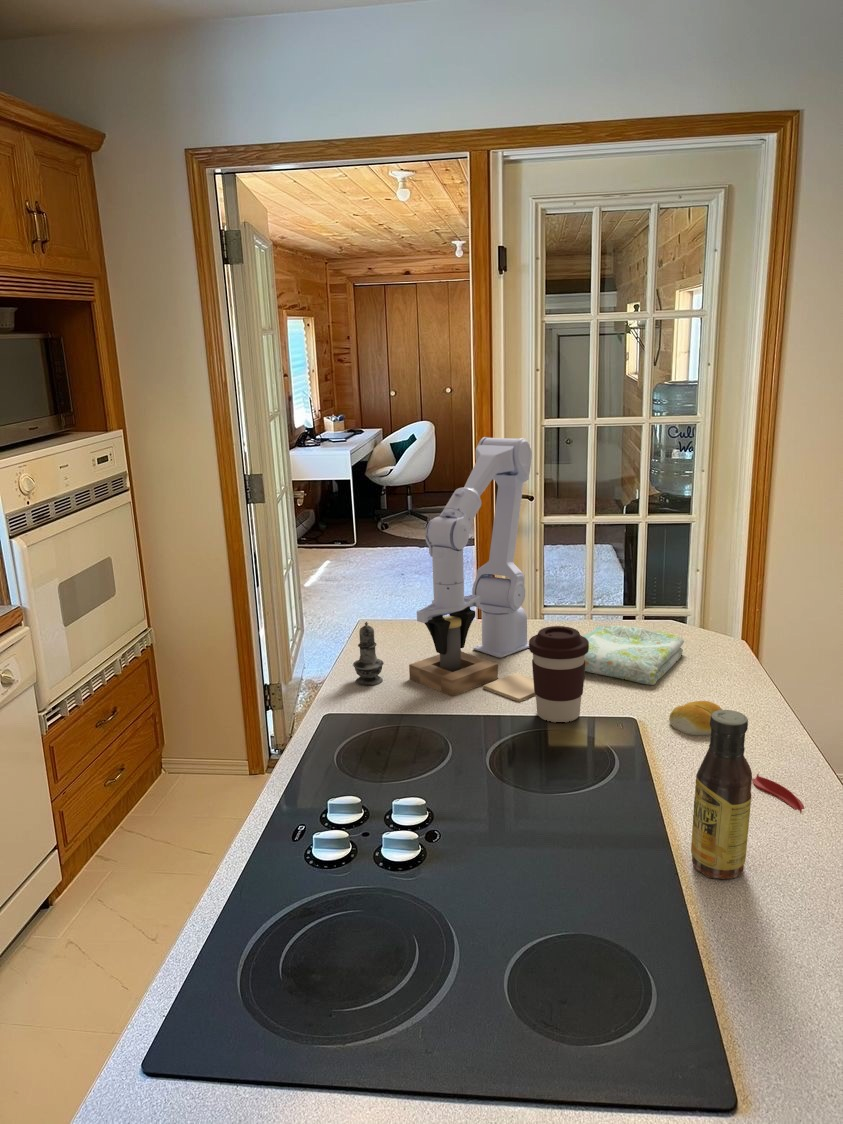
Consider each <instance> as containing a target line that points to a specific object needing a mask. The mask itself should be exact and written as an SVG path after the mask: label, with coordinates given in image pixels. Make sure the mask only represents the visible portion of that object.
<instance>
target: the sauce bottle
mask: <svg viewBox="0 0 843 1124" xmlns="http://www.w3.org/2000/svg"><path fill="white" fill-rule="evenodd" d="M748 726H749V719H748V717H747V716H746V715H745V714H743V713H742V712H740V711H737V710H731V709H723V710H718V711H715V712H713V713H712V715H711V718H710V727H711V734H709V737H710V739H709V744H708V748H707V749H708V750H707V751H706V754H705V756H704V758H703V759H702V762H701V764H700V766H699V769H698V770H697V773H696V777H695V785H694V786H695V788H694V789H695V790H694V800H693V814H692V830H691V843H690V851H691V852H690V853H691V858H692V859H691V862H692V865H693V867H694V868H695V869H696V870H697V871H699V872H700V873H701V874H703V875H704V876H706V877H707V878H710V879H719V880H731V879H735V878H736V877H739V876H740V875H742V873H743V871H744V869H745V867H744V865H745V863H746V859H747V850H748V849H747V848H748V847H747V846H748V840H749V825H750V815H751V804H752V792H751V791H752V784H753V782H752V779H753V772H752V769H751V766H750V764H749V762H748V760H747V758H746V756H744V755H745V749H746V748H745V741H746V740H745V739H746V738H745V737H746V733H747V731H748V730H749V727H748Z"/></svg>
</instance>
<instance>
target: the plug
mask: <svg viewBox="0 0 843 1124" xmlns="http://www.w3.org/2000/svg"><path fill="white" fill-rule="evenodd" d="M443 618H445V620H446V621H450V622H451V623H450V626H449V630H448V635H447V652H446V654H444V655H443V654H440V653H439V654H440V668H443V669H445V670H448V671H451V672H455V671H457V670H460V669H461V652H462V648H461V638H460V626H461V618H459V617H455V616H450V615H448V616H447V615H445V616H443Z"/></svg>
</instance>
